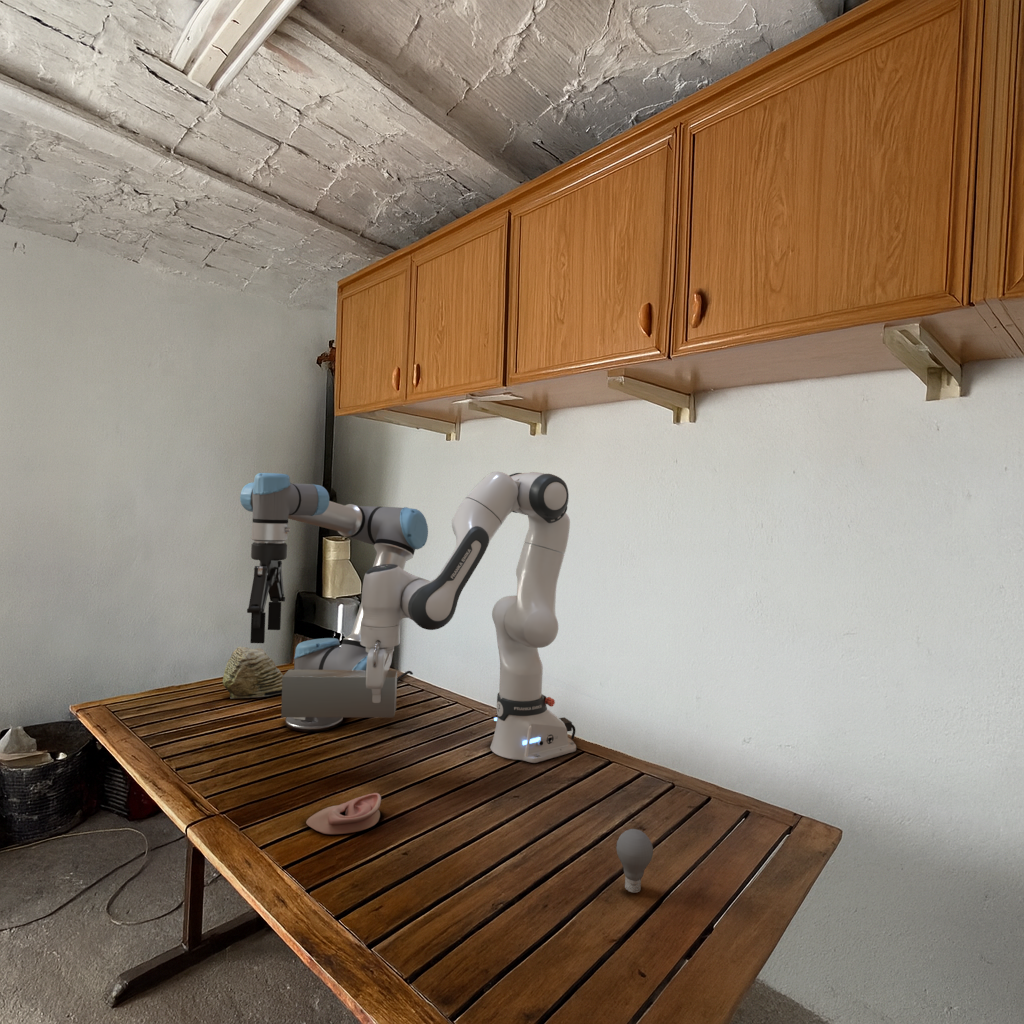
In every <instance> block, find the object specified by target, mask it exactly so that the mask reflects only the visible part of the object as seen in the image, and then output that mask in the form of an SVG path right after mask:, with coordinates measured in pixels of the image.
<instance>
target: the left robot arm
mask: <svg viewBox="0 0 1024 1024" xmlns="http://www.w3.org/2000/svg"><path fill="white" fill-rule="evenodd" d="M290 479H291V478H290V475H289V474H286V473H277V472H275V473H274V472H259V473H257V474H255V475H254V480H253V482H249V483H246V484H245V485H244V486H243V487H242V489H241V491H240V496H239V501H240V504H241V506H242V507H243V508H244V510H246V511H247V512H249V513H250V512H252V522H251V540H252V541H253V542H252V543H251V545H250V547H251V549H250V558H251V559H252V560H255V561H259V565H255V566H254V568H253V578H252V579H253V580H252V585H251V591H250V597H249V602H248V608H247V609H246V613H247V614H250V615H251V616H250V617H251V618H250V641H249V643H250V644H265V641H266V640H265V639H266V638H265V636H266V612H265V609H266V604H267V600H268V596H269V602H268V607H267V609H268V611H267V613H268V614H267V631H281V625H282V622H281V621H282V602H286V596H285V590H284V580H283V561H285V560H286V559H287V557H288V544H287V543H286V541H287V540H288V533H289V532H291V528H290V527H288V526H289V524H288V523H289V520H292V521H297V522H301V523H305V524H308V525H311V526H316V527H320V528H325V529H328V530H332V531H336V532H337V533H338V534H339V535H340V536H343V537H345V538H349V539H353V540H356V541H359V542H363V543H365V544H368V545H373V548H374V550H375V552H376V555H375V558H374V560H373V561H374V562H373V565H372V567H374V566H378V565H383V564H395V565H398V566H399V567H400V568H401V569H403V570H404V571H405V566H406V563H407V562H408V561H410V560H412V559H413V558H414V555H415V552H416V551H417V550H420V549H422V548H423V547H425V545H426V544H427V541H428V537H429V526H428V523H427V519H426V517H425V515H424V513H423V512H422V511H420V510H418V509H417V508H411V507H407V506H405V507H398V506H396V507H395V506H379V505H376V506H375V505H374V506H373V505H372V506H371V505H367V506H366V505H356V504H353V503H348V504H341V503H338V502H334V501H332V500H330V493H329V492H328V490H327V489H326V488H325V487H324V486H323V485H320V484H315V483H291V481H290ZM362 616H363V609H362V605H361V604H359V608H358V610H357V614H356V617H355V620H354V624H353V626H352V628H351V633H350V634H349V635H347V636H345V637H344V638H343V639H342V642H341V643H340V640H339V639H338V638H335V637H324V638H323V637H322V638H313V639H308V640H304V641H302V642H299V643H298V644H297V645H296V647H295V652H294V653H295V654H294V657H293V659H294V660H293V662H294V663H293V665H294V666H293V670H366V667H367V657H368V653H367V652H366V647H365V646H362V645H361V644H360V633H361V619H362ZM340 644H341V645H340ZM407 675H411V676H412V675H414V672H413V671H412V670H407V671H405V672H403V673H402V674H401V675H399V676H397V683H398V682H399V681H400V680H401V679H402V678H404V677H406V676H407ZM343 722H344V717H285V726H286V728H287V729H289V730H291V731H294V732H295V731H296V732H301V733H316V732H325V731H329V730H332V729H335V728H337V727H339V726H340V725H342V723H343Z"/></svg>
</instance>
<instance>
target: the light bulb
mask: <svg viewBox="0 0 1024 1024" xmlns="http://www.w3.org/2000/svg"><path fill="white" fill-rule="evenodd" d="M615 849H616V854H617V857H618V859H619V861H620V863H621V865H622V867H623V873H624V874H623V875H624V876H625V878H624V888H625V890H627V891H628V892H630V893H634V894H635V893H639V892H640V891H641V889H642V887H641V886H642V879H643V877H644V875H645V871H646V868H647V867H648V866H649V864H650V863H651V861H652V859H653V855H654V847H653V843H652V841H651V838H649V836H648V835H647V834H646V833H645V832H643V831H642V830H641V829H636V828H629V829H627V830H625V831H623V832H622V833H621V834H620V835H619V837H618V839H617V841H616V847H615Z"/></svg>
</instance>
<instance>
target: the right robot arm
mask: <svg viewBox="0 0 1024 1024" xmlns="http://www.w3.org/2000/svg"><path fill="white" fill-rule="evenodd" d="M569 499H570V498H569V489H568V485H567V483H566V482H565V480H563V478H561V477H560V476H558V475H555V474H552V473H544V472H538V471H531V472H515V473H512V474H509V475H508V474H507V473H505V472H502V471H492V472H490V473H488V474H487V475H485V477H483V478H481V480H479V482H478V483H477V484H476V485H474V487H473V488H472V489H471V490H470V491H469V493H467V495H466V497H465V498H463V500H462V502H461V503H460V504H459V506H458V507H457V509H456V511H455V512H454V514H453V516H452V519H451V528H452V533H453V534H454V536H455V538H456V539H455V540H456V543H455V547H454V550H453V551H452V553H451V555H450V556H449V558H448V559H447V561H446V563H445V564H444V565H443V567H441V568H442V569H441V570H440V572H439V573H438V575H437V576H436V577H435V578H433V579H432V580H428V579H426V578H423V577H420V576H417V575H415V574H412V573H409V571H406V570H405V569H404V570H403V569H401V568H400V567H399V566H398V565H395V564H383V565H378V566H374V567H373V566H372V567H370V568H369V569H367V570H366V572H365V573H364V576H363V581H362V586H361V587H362V589H361V600H360V601H361V602H360V605H362V609H363V616H362V619H361V633H360V644H361V645H362V646H365V647H366V652H367V653H368V657H367V667H366V688H367V689H371V690H372V702H373V703H380V701H381V688H383V685H384V682H385V679H386V676H387V673H388V670H390V667H391V665H392V660H393V654H394V651H395V647H397V646H399V645H400V644H401V621H402V620H403V619H406V618H407V619H409V620H411V621H413V622H414V623H415V624H416V625H417V626H418V627H420V628H421V629H424V630H427V631H428V630H429V631H434V630H439V629H441V628H443V627H445V626H446V625H447V624H449V623H450V622H451V620H452V619H453V618H454V615H455V612H456V609H457V606H458V602H459V599H460V596H461V594H462V591H463V590H464V588H465V587H466V585H467V584H468V581H470V578H471V577H472V576H473V573H474V572H475V571H476V568H477V567H478V565H479V563H480V562H481V560H482V559H483V557H484V555H485V554H486V551H487V549H488V547H489V545H490V543H491V541H492V540H493V538H494V536H495V535H496V533H497V532H498V531H499V529H500V528H501V526H502V525H503V524H504V523H505V520H506V519H507V518H508V516H509V515H510V514H511V513H516V514H520V515H523V516H527V518H528V530H527V532H526V535H525V538H524V541H523V544H522V547H521V552H520V555H519V559H518V562H517V565H516V568H515V570H516V571H515V575H516V581H517V584H516V585H517V587H516V595H506V596H503V597H501V598H499V599H498V600H497V601H496V602H495V603H494V606H493V607H492V611H491V617H492V621H493V624H494V627H495V633H496V635H495V636H496V640H497V641H496V642H497V649H498V656H499V683H498V684H499V685H498V686H499V687H498V689H499V690H498V693H497V695H496V696H497V697H496V717H493V721H494V722H496V723H495V728H494V734H493V737H492V740H491V743H490V751H491V752H492V753H494V754H495V755H496V756H498V757H501V758H505V759H509V760H516V761H524V762H526V763H527V762H528V763H530V764H531V763H532V764H537V763H541V762H544V761H547V760H550V759H553V758H557V757H561V756H564V755H567V754H571V753H574V752H576V751H577V745H576V742H575V741H573V740H574V739H575V736H576V726H575V725H574V724H573V722H572V721H571V720H569V719H568V718H566V717H559V716H557V715H556V714H555V713H554V712H553V711H551V710H550V709H548V707H554V706H555V704H556V700H555V699H554V698H552V697H551V696H548V697H547V696H546V695H544V694H543V672H544V667H543V662H542V660H541V657H540V653H539V649H542V648H546V647H548V646H549V645H551V644H553V642H554V641H555V639H556V638H557V636H558V634H559V621H558V618H557V615H556V603H557V601H556V598H557V586H558V580H559V577H560V573H561V569H562V565H563V561H564V558H565V555H566V551H567V547H568V542H569V536H570V528H571V519H570V516H569V515H568V514H567V511H568V505H569ZM568 732H572V733H571V737H569V735H568Z"/></svg>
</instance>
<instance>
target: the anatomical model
mask: <svg viewBox="0 0 1024 1024" xmlns="http://www.w3.org/2000/svg"><path fill="white" fill-rule="evenodd" d="M381 803H382V796H381V794H380V793H379V792H373V793H368V794H364V795H362V796H358V797H356V798H353V799H351V800H348V801H346V802H343V803H340V804H338V805H332V806H328V807H325V808H323V809H321V810H319V811H317V812H315V813H313V814H312V815H311V816H310V817H308V818H307V819H306V821H305V824H306V825H307V826H308V827H309V828H311V829H312V830H314V831H316V832H319V833H321V834H323V835H343V834H351V833H356V832H362V831H365V830H367V829H369V828H370V829H371V828H372V827H374V826H375V825H376V824H377V823H379V821H380V818H381V812H380V810H379V809H380V807H381Z"/></svg>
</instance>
